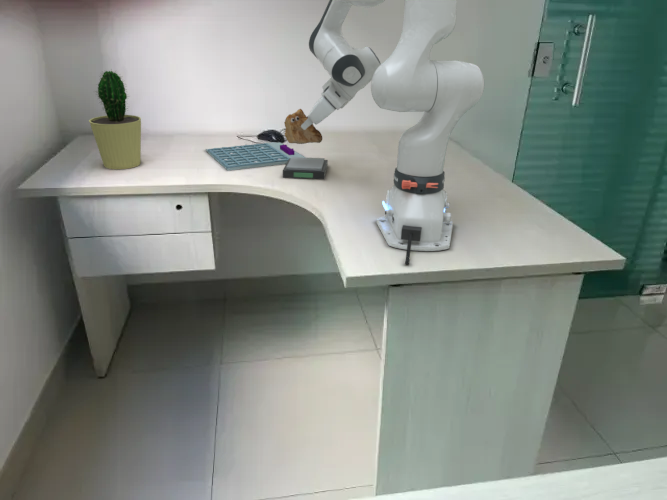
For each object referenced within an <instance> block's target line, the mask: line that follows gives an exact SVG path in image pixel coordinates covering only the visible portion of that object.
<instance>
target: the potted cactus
mask: <svg viewBox="0 0 667 500" xmlns="http://www.w3.org/2000/svg"><path fill="white" fill-rule="evenodd" d="M100 73H102V74H100V75H98V76H99V77H100V78H99V82H98V83H97V84H95V85H97V90H94V91H93V93H96V97H97V99H98V100H101V101H100V103H99V104H100V105H102V106H103V108H102V111H105V112H104V113H105V115H101V116H96V117H92V118H90V119H89V120H88V122H89V123H90V124H89V125H90V128H91V130H92V134H93V137H94V140H95V143H96V146H97V149H98V152H99V155H100V158H101V161H102V164H103V166H104V168H105V169H109V170H126V169H128V170H129V169H132V168H136V167H138V166H140V165H141V160H142V159H141V156H142V155H141V154H142V153H141V152H142V151H141V149H142V147H141V146H142V118H141V117H140V116H139V115H133V114H127V113H126V111H129V109H128V110H127V108H129V106H127V101H128V99H129V98H130V97H131V95H129V93H128V91H127V89H126V87H127V86H126V84H125V83H124V80H122V76H121V73H120V74H119V73H117V72H116V71H112V68H111V69H110V70H104V71H102V70H101V72H100ZM127 93H128V94H127ZM126 100H127V101H126Z"/></svg>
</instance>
